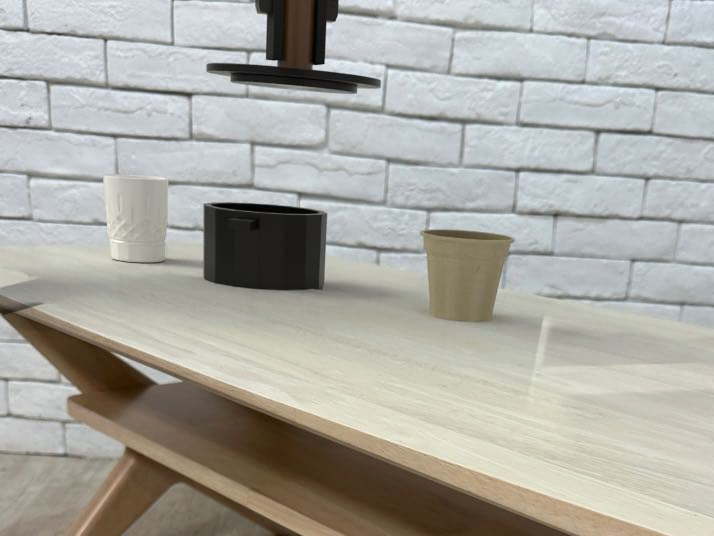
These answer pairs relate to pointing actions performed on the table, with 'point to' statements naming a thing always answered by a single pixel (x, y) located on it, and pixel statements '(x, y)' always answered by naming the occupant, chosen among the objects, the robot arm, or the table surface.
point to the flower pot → (464, 272)
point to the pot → (264, 246)
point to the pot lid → (295, 60)
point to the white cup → (136, 216)
